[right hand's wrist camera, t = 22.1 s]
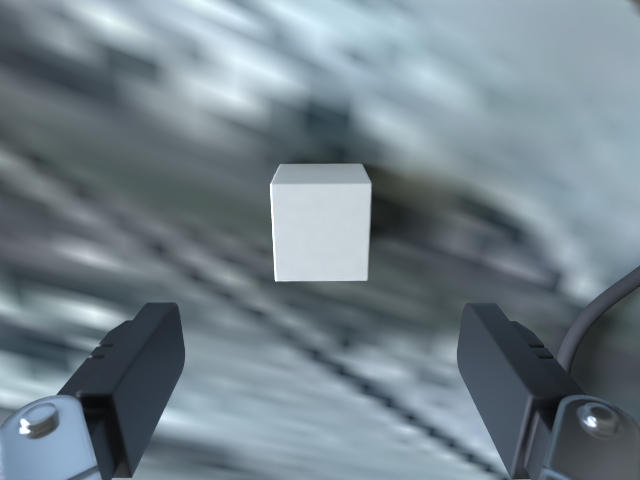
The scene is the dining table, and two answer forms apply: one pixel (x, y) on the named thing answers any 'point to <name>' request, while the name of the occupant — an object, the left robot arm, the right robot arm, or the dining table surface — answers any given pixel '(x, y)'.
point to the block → (321, 222)
